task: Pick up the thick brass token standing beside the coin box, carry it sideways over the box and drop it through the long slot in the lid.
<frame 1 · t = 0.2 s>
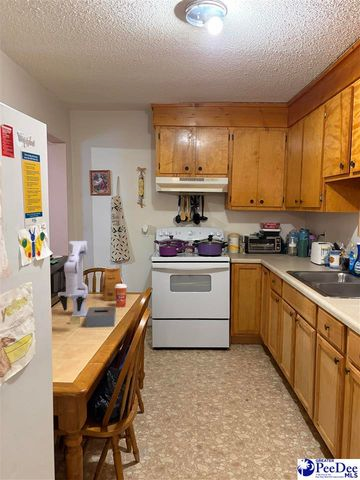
hand: (72, 310, 183), 10 cm above the table, tool pointing down, fingers open, 7 cm apart
coin box: (101, 321, 196), on the table
token: (75, 323, 193), on the table
coffee package: (111, 299, 244), on the table
paper cup: (121, 306, 227), on the table
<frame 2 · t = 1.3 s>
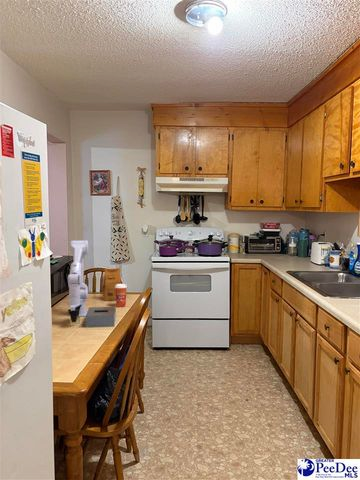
hand: (75, 319, 192), 2 cm above the table, tool pointing down, fingers open, 7 cm apart
nothing on the table moved.
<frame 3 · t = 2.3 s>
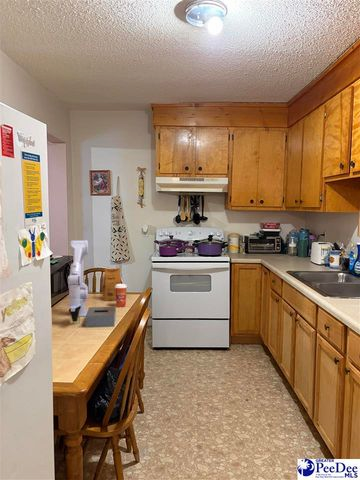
hand: (75, 320, 193), 1 cm above the table, tool pointing down, fingers closed on token, 2 cm apart
token: (75, 323, 193), on the table, touching gripper
everything else where it was.
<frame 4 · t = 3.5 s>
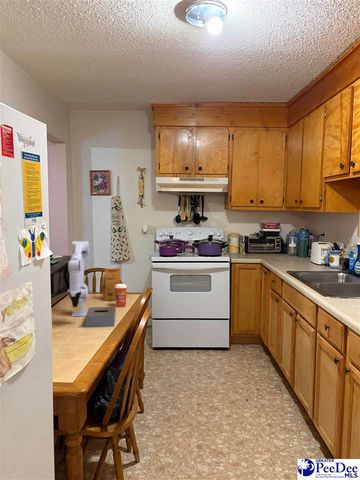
hand: (75, 306, 192), 9 cm above the table, tool pointing down, fingers closed on token
token: (75, 310, 192), point 7 cm above the table, touching gripper
everything else where it was.
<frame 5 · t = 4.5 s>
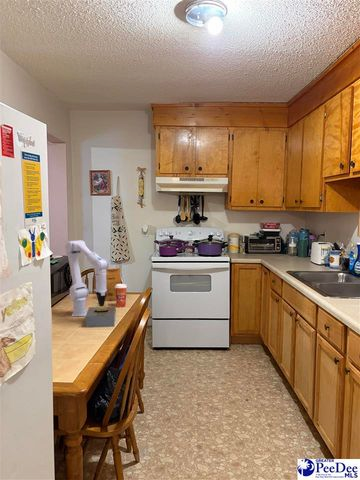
hand: (101, 305, 195), 9 cm above the table, tool pointing down, fingers closed on token
token: (101, 310, 195), point 7 cm above the table, touching gripper
everything else where it was.
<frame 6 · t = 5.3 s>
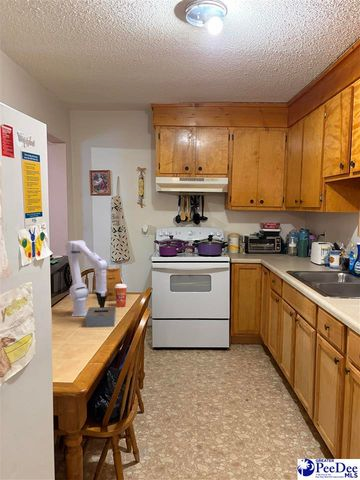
hand: (101, 306, 195), 9 cm above the table, tool pointing down, fingers open, 6 cm apart
token: (101, 320, 196), resting on coin box
everything else where it was.
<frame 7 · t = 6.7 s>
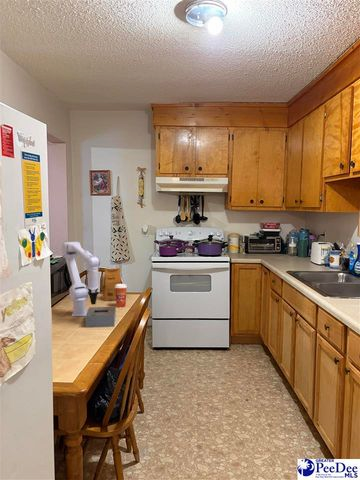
hand: (93, 302, 197), 10 cm above the table, tool pointing down, fingers open, 7 cm apart
nothing on the table moved.
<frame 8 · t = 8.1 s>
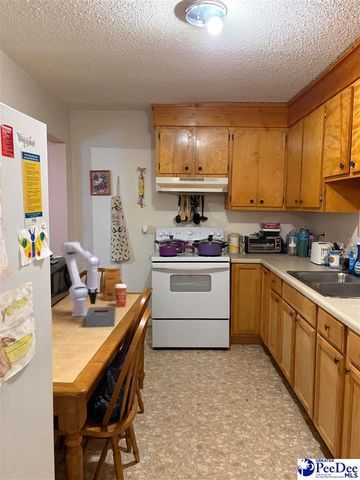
hand: (92, 302, 197), 10 cm above the table, tool pointing down, fingers open, 7 cm apart
nothing on the table moved.
at the end: token inside the target area on the coin box (0.1 cm from its centre), point 0.5 cm above the coin box's base; the gripper is holding nothing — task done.
